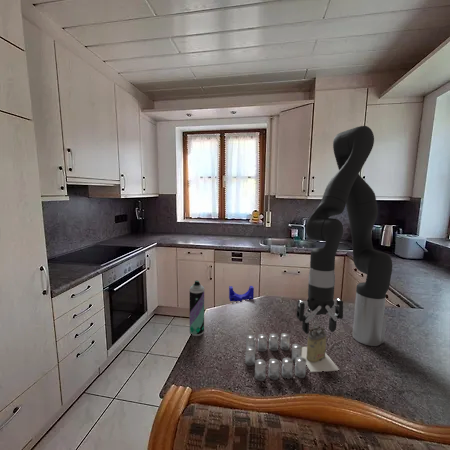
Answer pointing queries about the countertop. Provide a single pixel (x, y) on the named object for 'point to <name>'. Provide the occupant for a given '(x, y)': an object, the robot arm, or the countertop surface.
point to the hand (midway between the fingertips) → (318, 331)
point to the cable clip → (237, 297)
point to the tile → (319, 363)
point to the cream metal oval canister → (316, 344)
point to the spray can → (197, 309)
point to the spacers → (274, 363)
